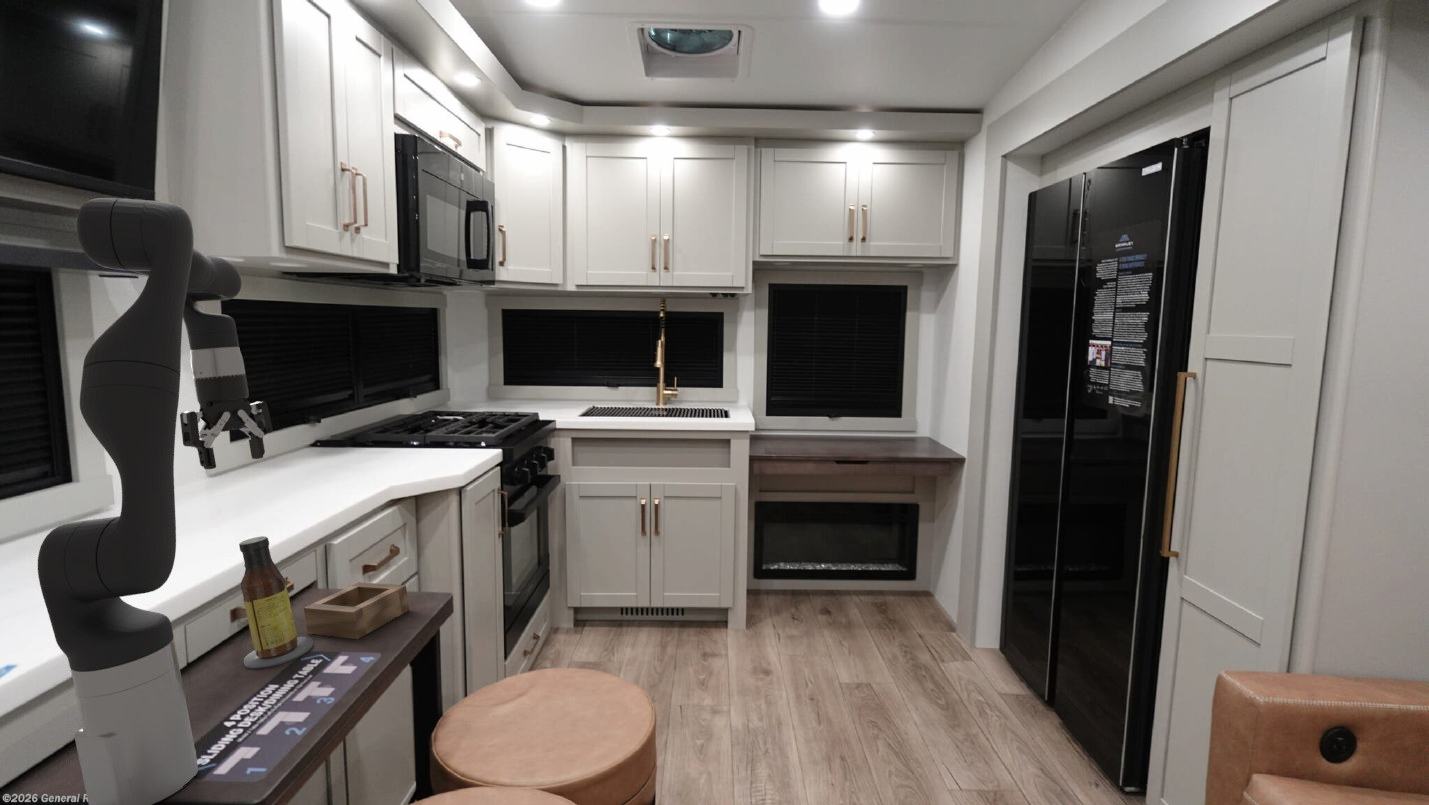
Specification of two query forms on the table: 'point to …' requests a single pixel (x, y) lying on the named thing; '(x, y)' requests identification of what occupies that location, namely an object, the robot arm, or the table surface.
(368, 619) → the walnut holder
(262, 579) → the sauce bottle
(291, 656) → the slate coaster
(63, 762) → the table surface
